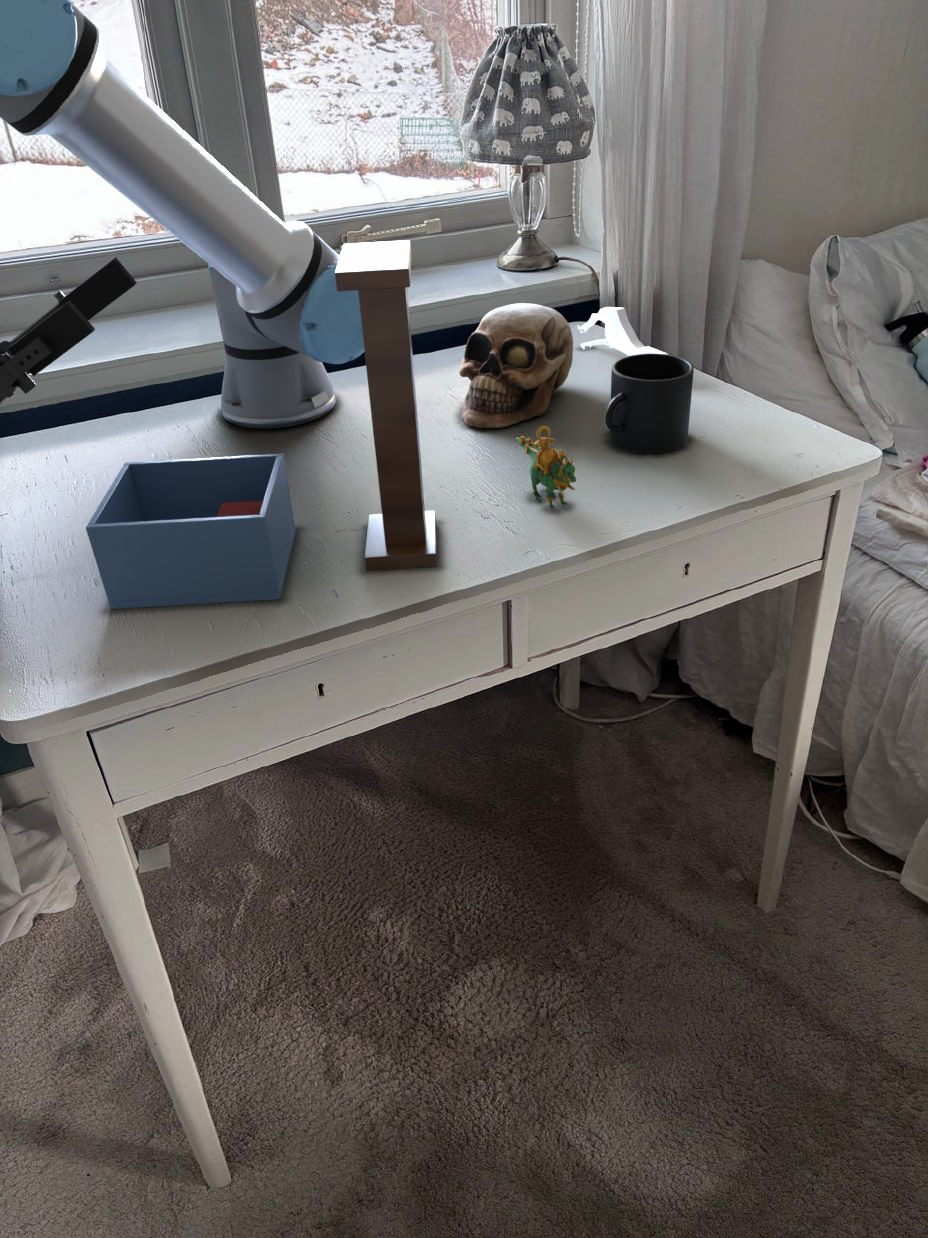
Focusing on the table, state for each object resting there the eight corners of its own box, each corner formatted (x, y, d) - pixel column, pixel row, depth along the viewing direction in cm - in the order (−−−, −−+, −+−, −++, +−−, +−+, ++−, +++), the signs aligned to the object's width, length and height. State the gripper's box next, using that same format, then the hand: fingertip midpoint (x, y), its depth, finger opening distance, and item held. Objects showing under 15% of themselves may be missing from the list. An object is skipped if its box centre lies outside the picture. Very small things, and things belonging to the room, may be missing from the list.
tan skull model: (464, 430, 120) (462, 320, 114) (454, 394, 136) (452, 296, 129) (587, 425, 121) (591, 316, 115) (563, 390, 137) (566, 293, 130)
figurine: (561, 522, 100) (562, 450, 95) (505, 479, 109) (504, 411, 104) (586, 515, 101) (588, 443, 96) (529, 473, 110) (528, 405, 105)
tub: (145, 538, 101) (125, 462, 96) (295, 529, 101) (283, 452, 96) (110, 609, 90) (85, 527, 85) (279, 599, 90) (264, 516, 85)
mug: (577, 443, 116) (578, 371, 111) (647, 417, 122) (651, 347, 117) (632, 468, 110) (637, 393, 104) (704, 439, 115) (711, 366, 110)
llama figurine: (589, 392, 146) (664, 378, 130) (573, 316, 143) (648, 293, 127) (599, 389, 147) (675, 375, 131) (583, 314, 144) (659, 291, 128)
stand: (370, 524, 101) (337, 243, 85) (435, 520, 101) (415, 239, 85) (365, 573, 93) (328, 273, 77) (437, 569, 93) (414, 268, 77)
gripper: (12, 404, 98) (168, 289, 92) (-95, 520, 78) (96, 380, 72) (-46, 344, 95) (112, 220, 89) (-175, 449, 74) (19, 295, 68)
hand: (105, 291), depth 80 cm, fingers open, 13 cm apart
